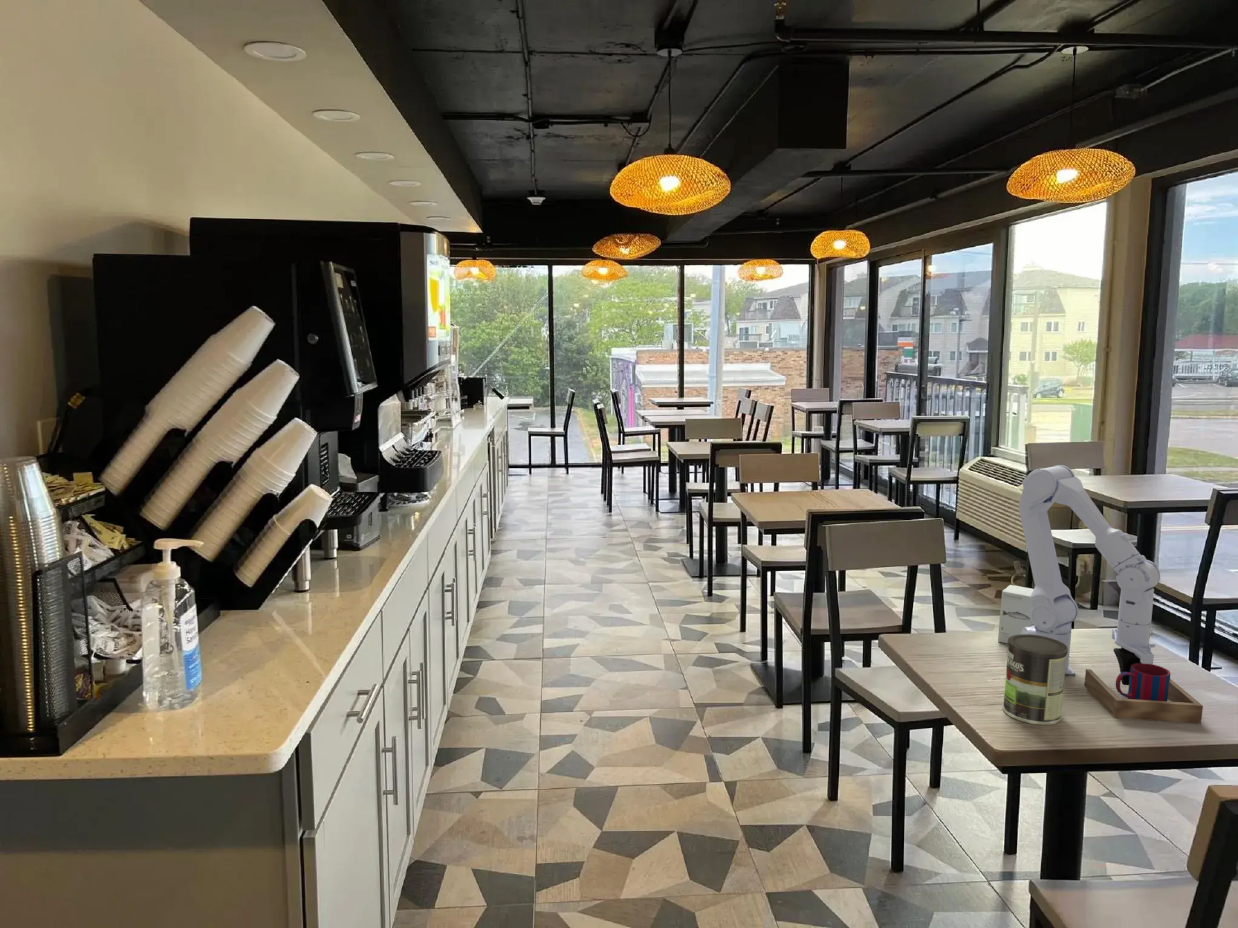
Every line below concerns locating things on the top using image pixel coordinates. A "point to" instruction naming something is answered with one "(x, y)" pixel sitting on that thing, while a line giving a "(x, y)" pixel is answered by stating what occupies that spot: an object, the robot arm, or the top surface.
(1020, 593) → the supplement box
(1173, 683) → the holder
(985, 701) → the top surface
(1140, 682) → the mug
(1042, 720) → the coffee can
